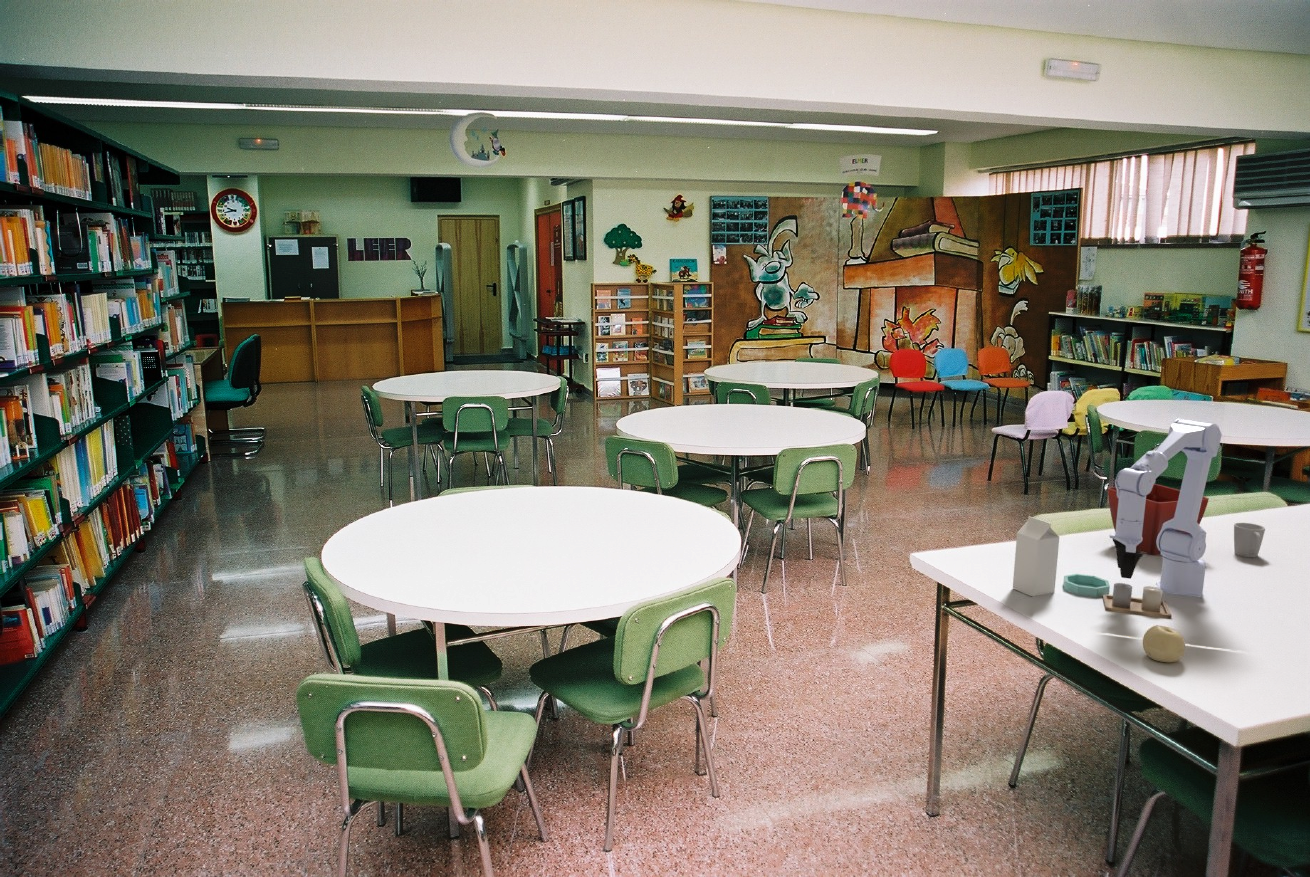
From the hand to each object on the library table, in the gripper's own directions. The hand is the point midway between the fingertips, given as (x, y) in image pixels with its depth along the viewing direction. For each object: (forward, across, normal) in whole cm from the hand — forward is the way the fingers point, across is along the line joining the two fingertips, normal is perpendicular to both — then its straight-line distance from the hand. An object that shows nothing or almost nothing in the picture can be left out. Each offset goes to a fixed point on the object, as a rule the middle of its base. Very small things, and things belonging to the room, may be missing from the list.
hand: (1124, 572), depth 224 cm
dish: (+9, -10, -7) cm, 15 cm away
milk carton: (+9, -4, -20) cm, 22 cm away
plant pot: (+9, -57, +13) cm, 59 cm away
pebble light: (+8, 0, +6) cm, 10 cm away
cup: (+9, -59, +38) cm, 71 cm away
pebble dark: (+8, 0, 0) cm, 8 cm away
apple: (+9, +30, +5) cm, 32 cm away
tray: (+9, 0, +3) cm, 9 cm away
